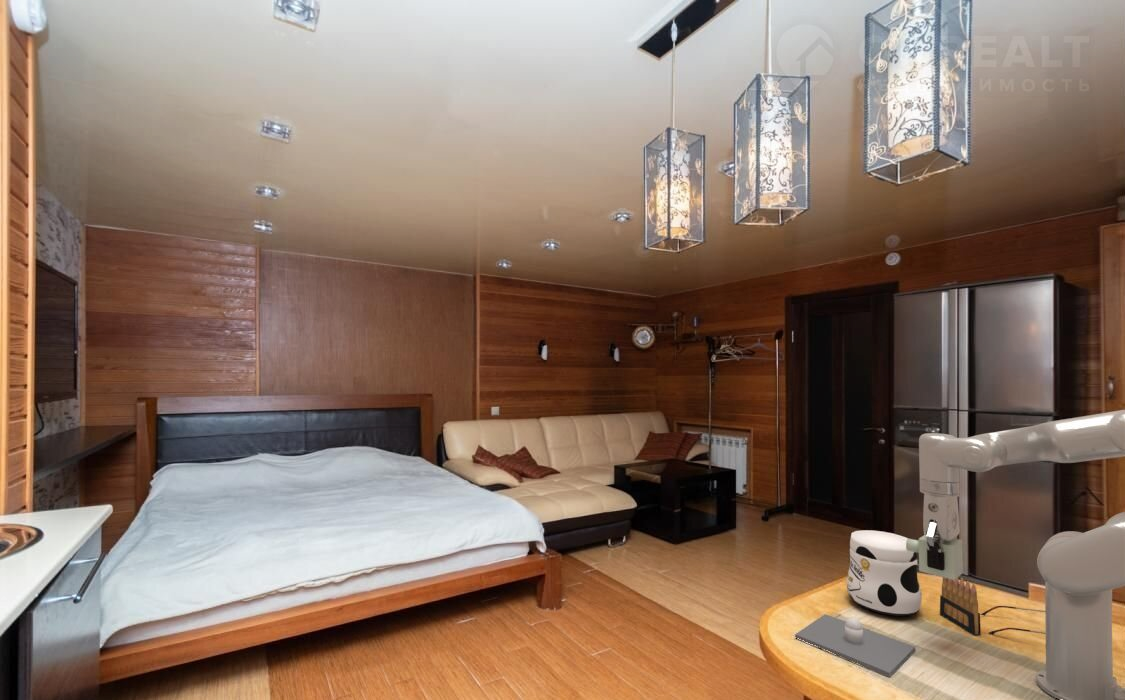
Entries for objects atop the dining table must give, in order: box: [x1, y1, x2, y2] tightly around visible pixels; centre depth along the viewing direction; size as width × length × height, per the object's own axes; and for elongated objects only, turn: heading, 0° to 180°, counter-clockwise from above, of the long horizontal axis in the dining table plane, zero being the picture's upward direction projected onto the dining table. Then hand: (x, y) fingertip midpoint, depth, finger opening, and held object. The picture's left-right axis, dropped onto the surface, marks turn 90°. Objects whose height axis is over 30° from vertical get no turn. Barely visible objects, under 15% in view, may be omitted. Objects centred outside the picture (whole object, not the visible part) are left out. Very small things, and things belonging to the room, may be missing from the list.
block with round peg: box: [906, 534, 964, 580], centre depth 123 cm, size 10×7×7 cm
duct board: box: [794, 613, 916, 678], centre depth 122 cm, size 20×16×6 cm
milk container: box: [845, 529, 923, 617], centre depth 142 cm, size 17×17×18 cm
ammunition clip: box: [939, 577, 982, 636], centre depth 132 cm, size 11×2×12 cm, turn 3°
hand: (940, 563), depth 122 cm, fingers closed on block with round peg, 6 cm apart
